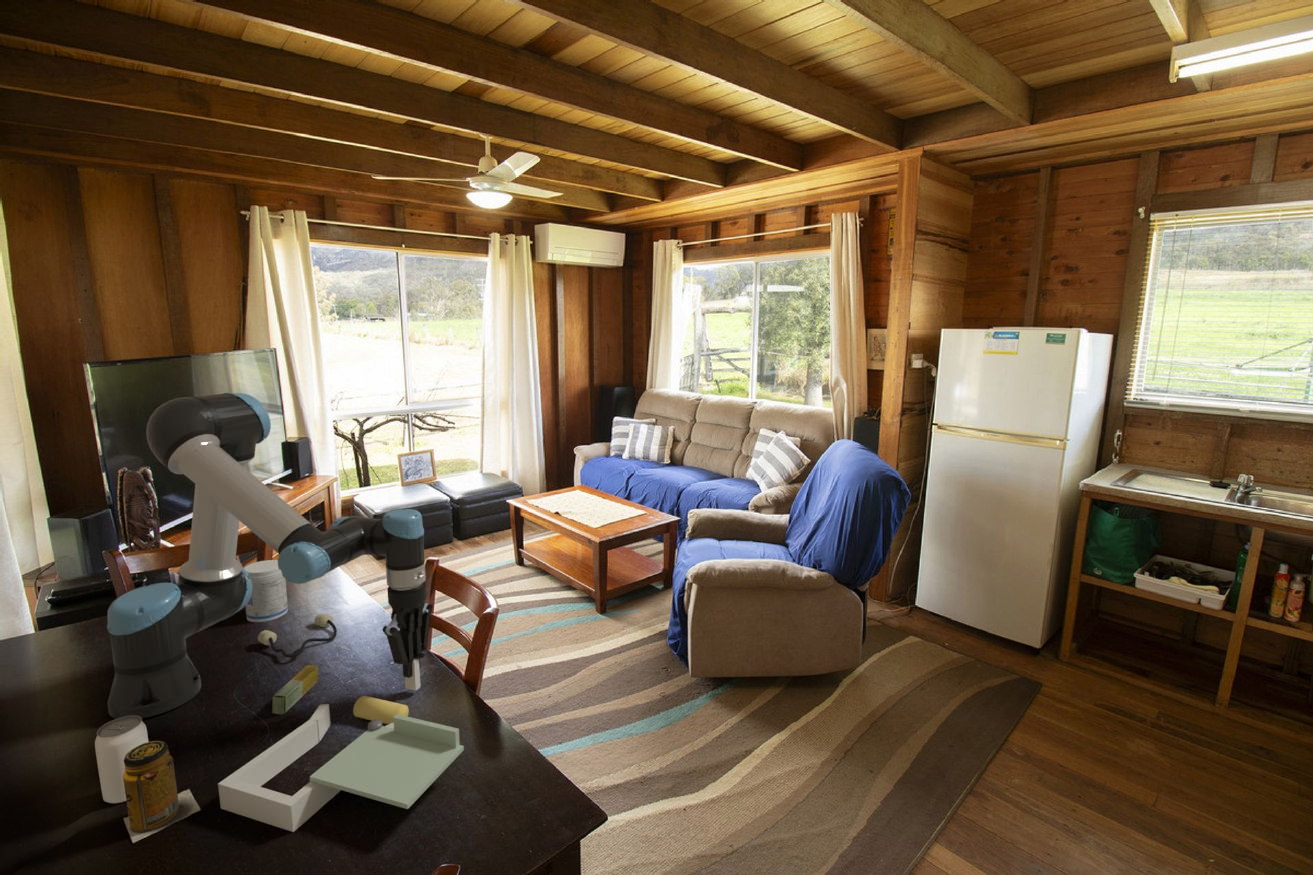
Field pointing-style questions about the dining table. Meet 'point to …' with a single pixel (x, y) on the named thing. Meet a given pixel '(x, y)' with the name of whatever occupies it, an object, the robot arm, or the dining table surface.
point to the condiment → (153, 791)
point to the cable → (320, 620)
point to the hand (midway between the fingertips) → (412, 687)
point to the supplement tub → (266, 592)
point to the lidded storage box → (245, 783)
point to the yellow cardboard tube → (378, 709)
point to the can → (117, 753)
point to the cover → (393, 760)
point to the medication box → (294, 689)
